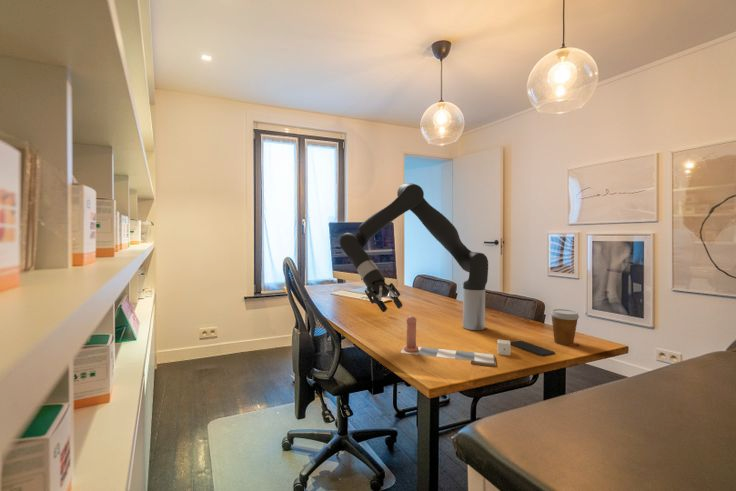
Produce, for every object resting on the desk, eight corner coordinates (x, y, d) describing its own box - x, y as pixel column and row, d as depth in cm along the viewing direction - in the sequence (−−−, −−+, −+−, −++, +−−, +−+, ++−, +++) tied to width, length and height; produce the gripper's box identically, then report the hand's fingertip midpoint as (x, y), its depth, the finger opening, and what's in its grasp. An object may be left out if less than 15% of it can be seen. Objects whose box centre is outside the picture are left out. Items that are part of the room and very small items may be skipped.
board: (403, 347, 126) (403, 344, 126) (494, 357, 116) (494, 354, 116) (398, 355, 117) (398, 353, 117) (496, 366, 108) (496, 363, 108)
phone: (521, 340, 134) (556, 352, 120) (520, 342, 134) (556, 354, 120) (506, 342, 131) (541, 355, 117) (506, 344, 131) (541, 357, 117)
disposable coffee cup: (580, 342, 132) (581, 311, 132) (574, 348, 125) (575, 315, 125) (553, 337, 139) (554, 307, 138) (546, 342, 132) (547, 311, 131)
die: (497, 350, 123) (497, 339, 123) (509, 351, 122) (509, 340, 122) (497, 354, 119) (498, 342, 119) (510, 355, 118) (510, 343, 118)
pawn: (405, 346, 123) (406, 313, 123) (419, 348, 122) (419, 314, 121) (403, 351, 119) (403, 316, 118) (416, 352, 117) (417, 318, 117)
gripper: (362, 269, 126) (385, 305, 118) (388, 267, 136) (411, 300, 129) (352, 282, 130) (374, 318, 122) (378, 279, 140) (400, 312, 133)
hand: (393, 309), depth 126 cm, fingers open, 8 cm apart
